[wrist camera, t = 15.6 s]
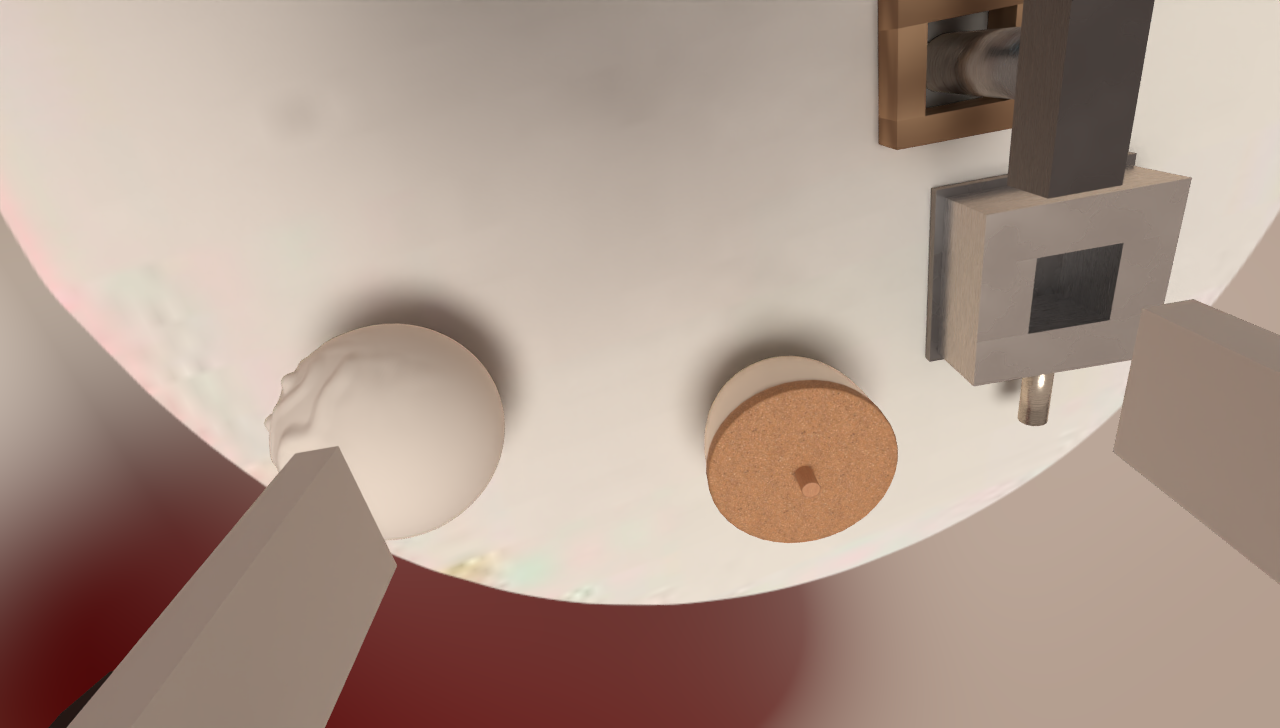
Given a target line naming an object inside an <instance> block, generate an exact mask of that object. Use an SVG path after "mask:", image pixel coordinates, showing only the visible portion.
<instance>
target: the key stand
mask: <svg viewBox="0 0 1280 728" xmlns="http://www.w3.org/2000/svg"><path fill="white" fill-rule="evenodd" d="M1023 1H1024V0H878V65H879V144H880V145H883V146H886V147H889V148H892V149H895V150H900V149H905V148H910V147H916V146H921V145H926V144H931V143H937V142H942V141H947V140H952V139H958V138H963V137H968V136H974V135H979V134H984V133H989V132H995V131H1000V130H1005V129H1010V128H1012V124H1013V113H1014V102H1015V100H1013V99H1003V98H993V97H982V98H977V99H972V100H966V101H961V102H956V103H951V104H946V105H941V106H935V107H930V108H925V104H926V69H927V34H928V23H929V22H934V21H939V20H944V19H949V18H954V17H959V16H964V15H969V14H974V13H979V12H983V11H988V10H989V16H988V29H999V28H1011V27H1021V23H1022V12H1023Z"/></svg>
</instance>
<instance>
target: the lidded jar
mask: <svg viewBox="0 0 1280 728" xmlns="http://www.w3.org/2000/svg"><path fill="white" fill-rule="evenodd" d="M705 459H706V474H707V480H708V485H709V490H710V493H711V496H712V499H713V501H714V503H715V505H716V506H717V508H718V510H719V511H720V513H721V514H722V515H723V516H724V517H725V518H726V519H727V520H728V521H729V522H730V523H731V524H733V525H734V526H735V527H737V528H738V529H740V530H742V531H744V532H746V533H747V534H749V535H752V536H755V537H758V538H760V539H763V540H769V541H774V542H783V543H797V542H807V541H813V540H818V539H821V538H825V537H828V536H831V535H833V534H836V533H838V532H841V531H843V530H845V529H847V528H848V527H850V526H852V525H853V524H855V523H856V522H858V521H859V520H861V519H862V518H863V517H865V516H866V515H867V514H868V513H869V512H870V511H871V510H872V509H873V508H874V507H875V506H876V505H877V504H878V503H879V501H880V500H881V499H882V498H883V497H884V495H885V493H886V491H887V490H888V488H889V486H890V484H891V482H892V479H893V477H894V474H895V471H896V465H897V460H898V447H897V442H896V437H895V434H894V432H893V429H892V427H891V425H890V423H889V422H888V420H887V419H886V417H885V416H884V415H883V413H882V412H881V410H880V409H879V408H878V407H877V406H876V405H875V404H874V403H873V402H872V401H871V400H870V399H869V398H868V397H867V396H866V394H865V393H864V392H863V391H862V390H861V389H860V388H859V387H858V386H857V385H856V384H855V383H854V382H853V381H851V380H850V379H849V378H848V377H847V376H845V375H844V374H842V373H841V372H839V371H838V370H836V369H835V368H833V367H831V366H829V365H827V364H825V363H823V362H820V361H817V360H813V359H809V358H805V357H799V356H778V357H773V358H767V359H764V360H761V361H758V362H756V363H754V364H752V365H749V366H747V367H745V368H744V369H742V370H741V371H739V372H738V373H736V374H735V375H734V376H733V377H732V378H731V379H730V380H729V381H727V383H726V384H725V385H724V386H723V387H722V389H721V390H720V392H719V393H718V395H717V397H716V398H715V400H714V402H713V403H712V406H711V409H710V411H709V414H708V418H707V423H706V428H705Z"/></svg>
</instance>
